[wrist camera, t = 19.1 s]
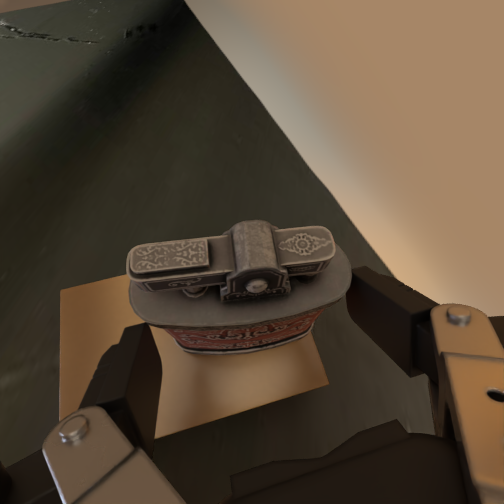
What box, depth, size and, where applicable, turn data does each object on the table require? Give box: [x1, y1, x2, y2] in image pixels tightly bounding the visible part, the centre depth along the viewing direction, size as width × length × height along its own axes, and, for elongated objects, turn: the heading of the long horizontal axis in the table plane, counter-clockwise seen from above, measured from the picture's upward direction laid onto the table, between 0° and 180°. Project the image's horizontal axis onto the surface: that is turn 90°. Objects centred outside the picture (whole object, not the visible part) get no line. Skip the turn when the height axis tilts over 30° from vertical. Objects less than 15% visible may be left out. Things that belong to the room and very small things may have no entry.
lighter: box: [126, 220, 352, 356], centre depth 13 cm, size 8×3×10 cm, turn 97°
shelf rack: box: [59, 274, 329, 439], centre depth 22 cm, size 15×10×8 cm, turn 106°
